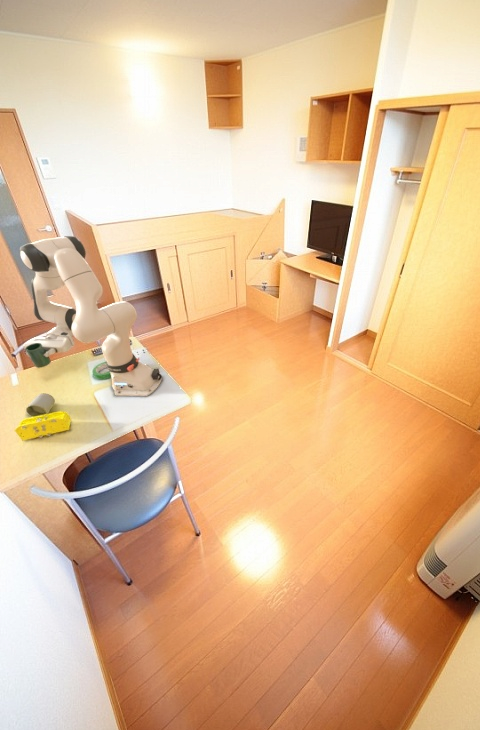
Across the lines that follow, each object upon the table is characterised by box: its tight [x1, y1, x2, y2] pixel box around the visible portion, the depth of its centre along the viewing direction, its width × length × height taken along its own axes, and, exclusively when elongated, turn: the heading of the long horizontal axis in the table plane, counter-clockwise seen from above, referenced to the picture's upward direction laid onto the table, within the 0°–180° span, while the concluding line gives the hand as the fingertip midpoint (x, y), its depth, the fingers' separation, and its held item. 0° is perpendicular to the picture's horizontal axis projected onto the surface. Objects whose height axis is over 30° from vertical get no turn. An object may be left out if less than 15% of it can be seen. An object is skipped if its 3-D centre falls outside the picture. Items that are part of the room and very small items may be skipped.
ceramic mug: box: [25, 393, 56, 417], centre depth 122 cm, size 11×8×8 cm
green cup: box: [24, 343, 52, 369], centre depth 134 cm, size 6×6×10 cm
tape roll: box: [92, 361, 111, 380], centre depth 145 cm, size 11×11×3 cm
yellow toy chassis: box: [14, 410, 72, 441], centre depth 114 cm, size 16×6×8 cm, turn 110°
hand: (36, 355), depth 133 cm, fingers closed on green cup, 6 cm apart
